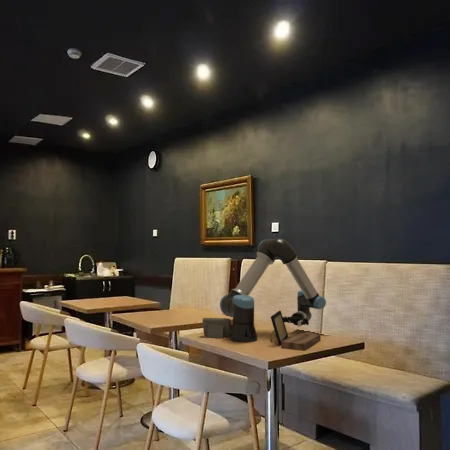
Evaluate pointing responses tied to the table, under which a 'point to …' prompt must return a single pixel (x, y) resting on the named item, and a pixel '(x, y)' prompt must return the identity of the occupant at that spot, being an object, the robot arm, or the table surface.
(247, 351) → the table surface
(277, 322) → the picture frame
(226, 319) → the digital clock
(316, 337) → the plinth
